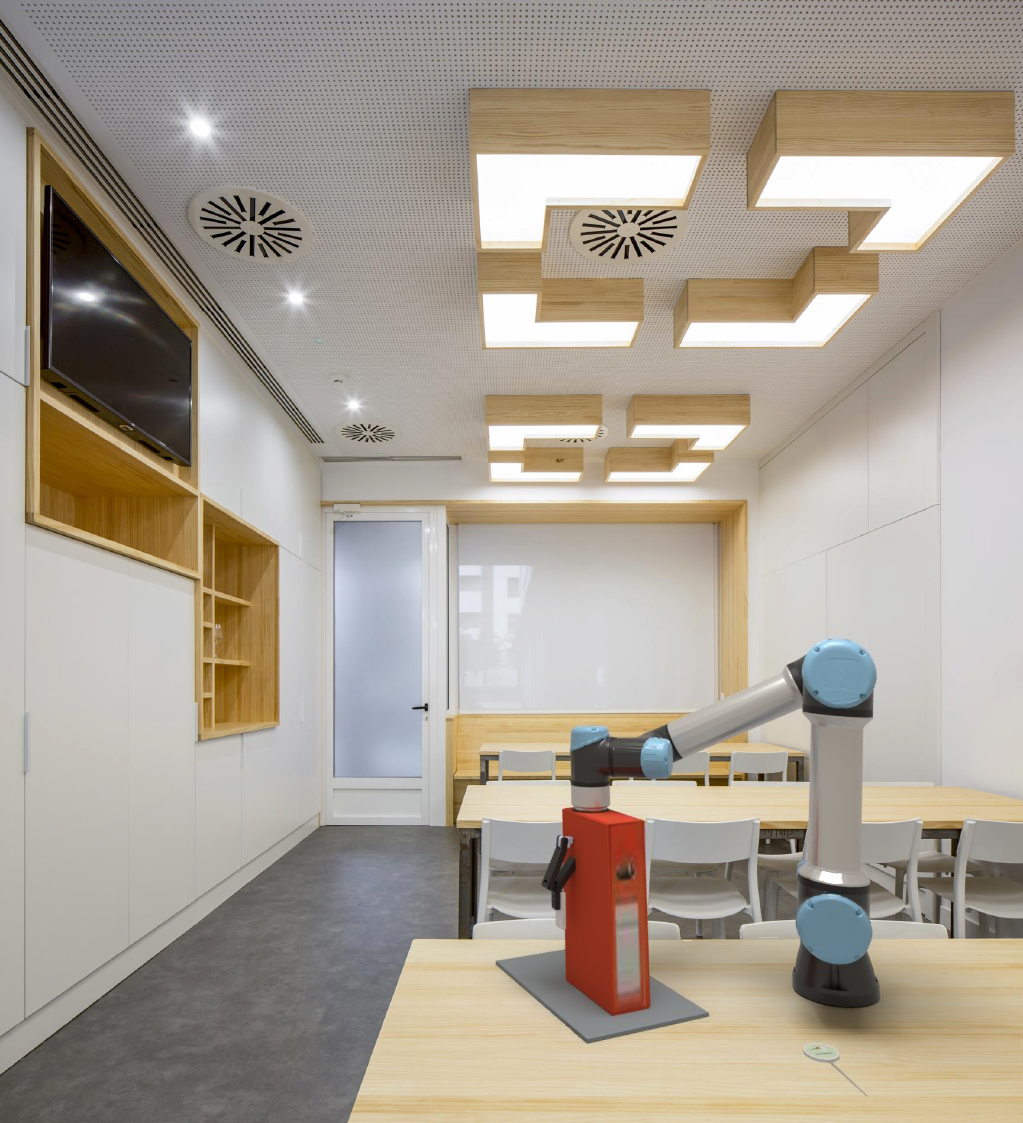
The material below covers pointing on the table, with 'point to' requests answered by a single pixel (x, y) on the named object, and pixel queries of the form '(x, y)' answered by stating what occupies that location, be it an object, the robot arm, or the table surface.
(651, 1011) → the mat
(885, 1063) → the table surface
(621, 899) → the file binder
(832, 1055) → the sign
